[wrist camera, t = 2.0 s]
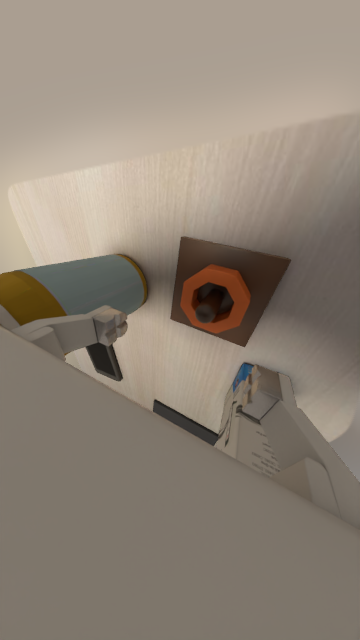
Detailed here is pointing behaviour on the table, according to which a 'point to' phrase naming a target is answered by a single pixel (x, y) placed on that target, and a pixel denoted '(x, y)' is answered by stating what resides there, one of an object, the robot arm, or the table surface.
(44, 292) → the bottle
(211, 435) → the mat
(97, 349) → the cell phone
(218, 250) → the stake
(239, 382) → the ink box
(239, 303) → the ring
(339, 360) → the table surface
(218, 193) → the table surface
